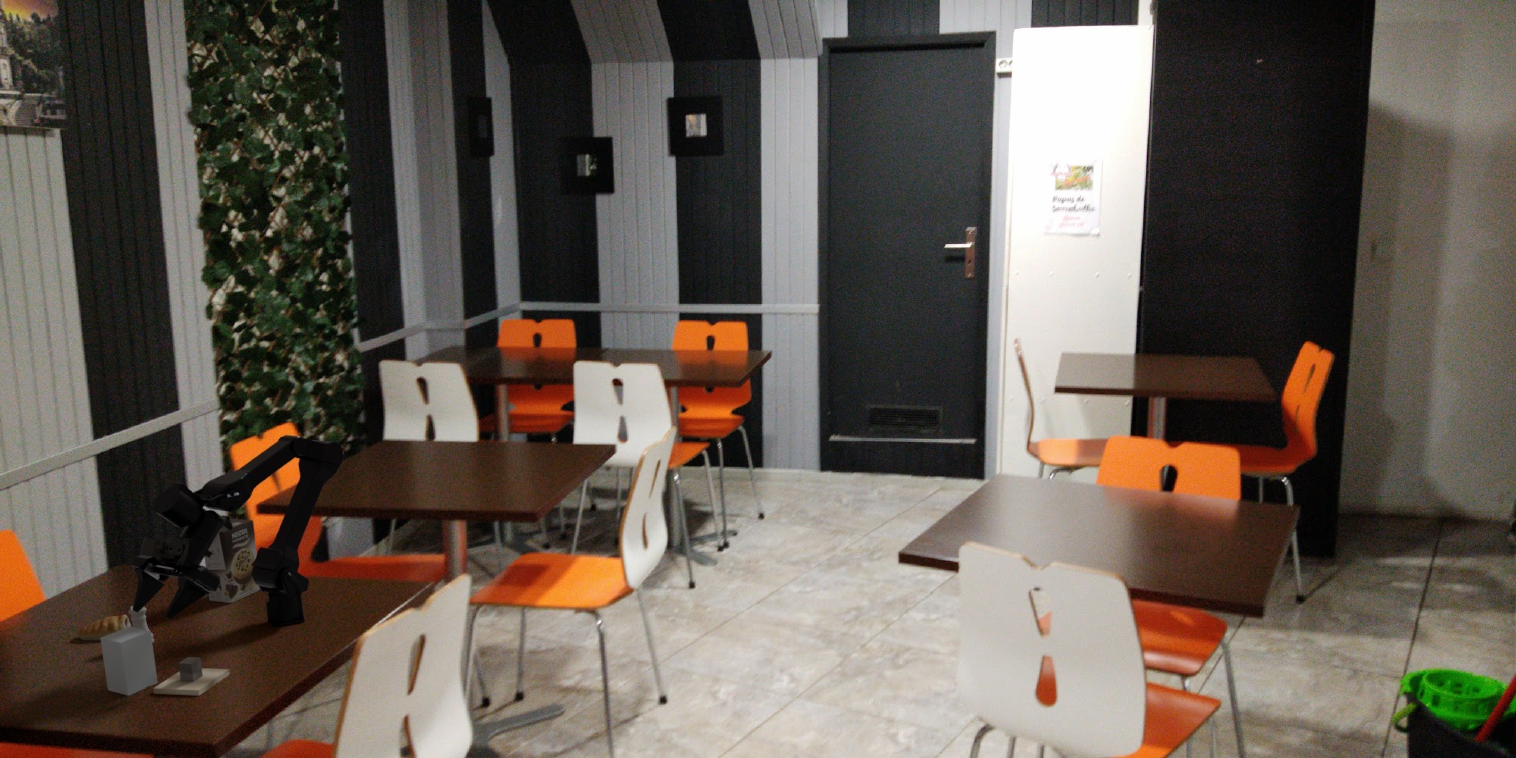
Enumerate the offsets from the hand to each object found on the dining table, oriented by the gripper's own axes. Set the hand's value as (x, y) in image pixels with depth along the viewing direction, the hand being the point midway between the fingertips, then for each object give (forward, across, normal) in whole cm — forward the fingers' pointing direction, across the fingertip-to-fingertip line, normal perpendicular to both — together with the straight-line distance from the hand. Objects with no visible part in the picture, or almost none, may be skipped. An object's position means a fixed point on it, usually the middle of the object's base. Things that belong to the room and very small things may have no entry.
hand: (150, 614), depth 223 cm
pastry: (+2, -29, +15) cm, 33 cm away
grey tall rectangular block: (+12, 0, +5) cm, 13 cm away
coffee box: (-17, -24, +34) cm, 44 cm away
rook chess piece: (+2, -17, +15) cm, 23 cm away
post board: (+8, +9, +8) cm, 15 cm away
